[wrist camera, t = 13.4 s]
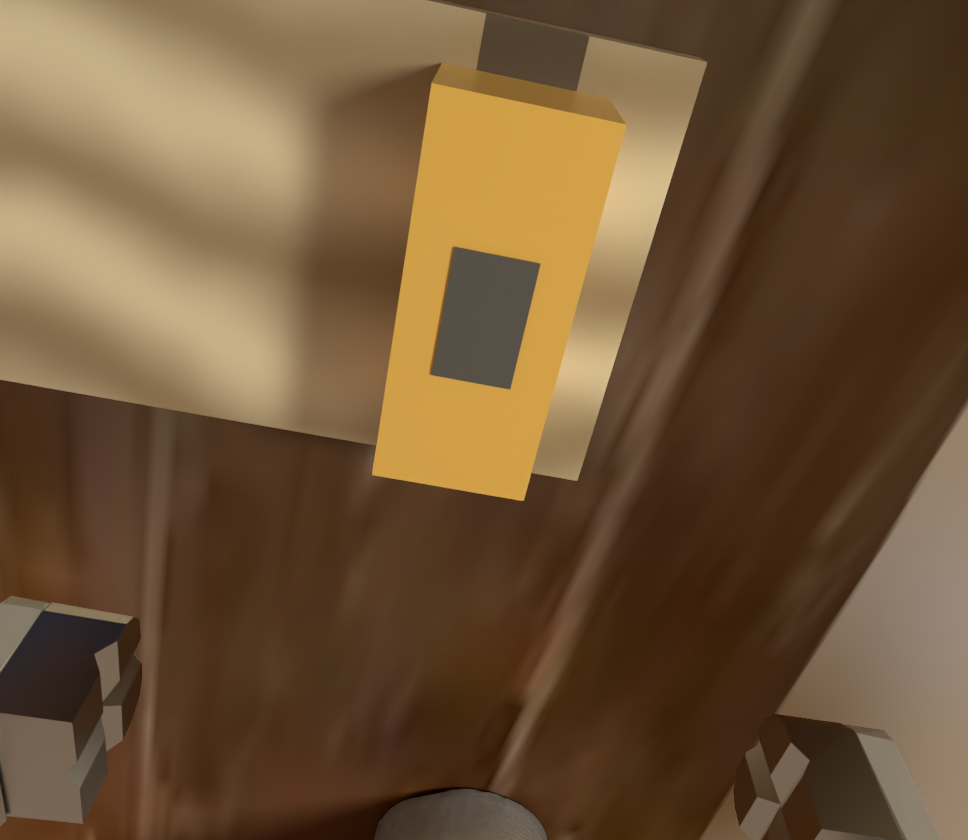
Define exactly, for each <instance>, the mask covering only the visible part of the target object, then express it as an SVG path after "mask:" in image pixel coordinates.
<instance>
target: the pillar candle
mask: <svg viewBox="0 0 968 840" xmlns="http://www.w3.org/2000/svg"><path fill="white" fill-rule="evenodd" d="M374 840H547V836H546V833H545V830H544V828H543V826H542V825H541V823H540V822H539V820H538V819H537V818H536V817H535V816H534V815H533V814H532V813H531V812H530V811H528V810H527V809H525V808H524V807H523V806H522V805H520V804H518V803H516V802H514V801H512V800H510V799H508V798H504V797H501V796H500V795H498V794H493V793H491V792H482V791H479V790H475V789H453V790H449V791H445V792H441V793H436V794H430V795H425V796H420V797H415V798H411V799H407V800H404V801H402V802H400V803H398V804H396V805H395V806H393V807H392V808H390V809H389V810H388V811H387V812H386V813H385V815H384V817H383V818H382V819H381V820H380V821H379V823H378V825H377V828H376V832H375V837H374Z"/></svg>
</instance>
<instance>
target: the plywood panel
mask: <svg viewBox="0 0 968 840" xmlns="http://www.w3.org/2000/svg"><path fill="white" fill-rule="evenodd" d="M442 63H446V64H450V65H455V66H460V67H464V68H469V69H474V70H478V71H483V72H488V73H492V74H497V75H502V76H506V77H511V78H516V79H520V80H525V81H530V82H534V83H539V84H544V85H548V86H553V87H558V88H562V89H567V90H572V91H576V92H581V93H586V94H590V95H595V96H599V97H604V98H609V99H610V101H611V102H612V104H613V105H614V107H615V108H616V110H617V111H618V113H619V114H620V116H621V117H622V119H623V120H624V121H625V123H626V128H625V132H624V135H623V139H622V143H621V146H620V150H619V154H618V157H617V161H616V165H615V168H614V172H613V176H612V179H611V183H610V187H609V190H608V194H607V198H606V201H605V205H604V209H603V212H602V216H601V220H600V223H599V227H598V231H597V234H596V238H595V242H594V245H593V249H592V253H591V256H590V260H589V264H588V267H587V271H586V275H585V278H584V282H583V286H582V289H581V293H580V297H579V300H578V304H577V307H576V311H575V315H574V318H573V322H572V326H571V329H570V333H569V337H568V340H567V344H566V348H565V351H564V355H563V359H562V362H561V366H560V370H559V373H558V377H557V381H556V384H555V388H554V392H553V395H552V399H551V403H550V406H549V410H548V414H547V417H546V421H545V425H544V428H543V432H542V436H541V439H540V443H539V447H538V450H537V454H536V458H535V461H534V465H533V469H532V472H531V473H535V474H541V475H547V476H552V477H558V478H564V479H569V480H575V481H577V480H578V477H579V474H580V471H581V467H582V464H583V461H584V458H585V454H586V451H587V448H588V445H589V442H590V438H591V435H592V432H593V429H594V425H595V422H596V419H597V416H598V413H599V409H600V406H601V403H602V400H603V397H604V393H605V390H606V387H607V384H608V380H609V377H610V374H611V371H612V368H613V364H614V361H615V358H616V355H617V351H618V348H619V345H620V342H621V339H622V335H623V332H624V329H625V326H626V322H627V319H628V316H629V313H630V310H631V306H632V303H633V300H634V297H635V293H636V290H637V287H638V284H639V281H640V277H641V274H642V271H643V268H644V264H645V261H646V258H647V255H648V252H649V248H650V245H651V242H652V239H653V235H654V232H655V229H656V226H657V223H658V219H659V216H660V213H661V210H662V206H663V203H664V200H665V197H666V194H667V190H668V187H669V184H670V181H671V177H672V174H673V171H674V168H675V165H676V161H677V158H678V155H679V152H680V148H681V145H682V142H683V139H684V136H685V132H686V129H687V126H688V123H689V119H690V116H691V113H692V110H693V107H694V103H695V100H696V97H697V94H698V90H699V87H700V84H701V81H702V78H703V74H704V71H705V68H706V65H707V62H706V61H704V60H703V59H701V58H699V57H696V56H691V55H686V54H682V53H677V52H673V51H668V50H664V49H659V48H655V47H650V46H646V45H641V44H637V43H632V42H628V41H623V40H619V39H614V38H610V37H605V36H601V35H596V34H591V33H587V32H582V31H578V30H573V29H569V28H564V27H560V26H555V25H551V24H546V23H542V22H537V21H533V20H528V19H524V18H519V17H515V16H510V15H506V14H501V13H496V12H492V11H487V10H483V9H478V8H474V7H469V6H465V5H460V4H456V3H451V2H447V1H442V0H0V380H5V381H11V382H17V383H22V384H28V385H34V386H39V387H45V388H51V389H56V390H62V391H68V392H74V393H79V394H85V395H91V396H96V397H102V398H108V399H113V400H119V401H125V402H131V403H136V404H142V405H148V406H153V407H159V408H165V409H170V410H176V411H182V412H188V413H193V414H199V415H205V416H210V417H216V418H222V419H227V420H233V421H239V422H245V423H250V424H256V425H262V426H267V427H273V428H279V429H284V430H290V431H296V432H302V433H307V434H313V435H319V436H324V437H330V438H336V439H341V440H347V441H353V442H359V443H364V444H370V445H376V446H377V439H378V432H379V426H380V419H381V413H382V406H383V399H384V393H385V386H386V380H387V373H388V366H389V360H390V353H391V347H392V340H393V334H394V327H395V320H396V314H397V307H398V301H399V294H400V287H401V281H402V274H403V268H404V261H405V254H406V248H407V241H408V235H409V228H410V222H411V215H412V208H413V202H414V195H415V189H416V182H417V175H418V169H419V162H420V156H421V149H422V142H423V136H424V129H425V123H426V116H427V110H428V103H429V96H430V90H431V83H432V81H433V79H434V77H435V75H436V74H437V72H438V70H439V68H440V66H441V64H442Z"/></svg>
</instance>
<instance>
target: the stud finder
mask: <svg viewBox="0 0 968 840" xmlns="http://www.w3.org/2000/svg"><path fill="white" fill-rule="evenodd" d="M625 128H626V123H625V121H624V120H623V119H622V117H621V116H620V114H619V113H618V111H617V110H616V108H615V107H614V105H613V104H612V102H611V101H610V99H609V98H604V97H599V96H595V95H590V94H586V93H581V92H576V91H572V90H567V89H562V88H558V87H553V86H548V85H544V84H539V83H534V82H530V81H525V80H520V79H516V78H511V77H506V76H502V75H497V74H492V73H488V72H483V71H478V70H474V69H469V68H464V67H460V66H455V65H450V64H446V63H442V64H441V66H440V68H439V70H438V72H437V74H436V75H435V77H434V79H433V81H432V83H431V90H430V96H429V103H428V110H427V116H426V123H425V129H424V136H423V142H422V149H421V156H420V162H419V169H418V175H417V182H416V189H415V195H414V202H413V208H412V215H411V222H410V228H409V235H408V241H407V248H406V254H405V261H404V268H403V274H402V281H401V287H400V294H399V301H398V307H397V314H396V320H395V327H394V334H393V340H392V347H391V353H390V360H389V366H388V373H387V380H386V386H385V393H384V399H383V406H382V413H381V419H380V426H379V432H378V439H377V446H376V452H375V459H374V465H373V472H372V475H375V476H381V477H387V478H393V479H399V480H405V481H410V482H416V483H422V484H428V485H434V486H439V487H445V488H451V489H457V490H463V491H468V492H474V493H480V494H486V495H492V496H497V497H503V498H509V499H515V500H521V501H524V498H525V494H526V491H527V487H528V483H529V480H530V476H531V472H532V469H533V465H534V461H535V458H536V454H537V450H538V447H539V443H540V439H541V436H542V432H543V428H544V425H545V421H546V417H547V414H548V410H549V406H550V403H551V399H552V395H553V392H554V388H555V384H556V381H557V377H558V373H559V370H560V366H561V362H562V359H563V355H564V351H565V348H566V344H567V340H568V337H569V333H570V329H571V326H572V322H573V318H574V315H575V311H576V307H577V304H578V300H579V297H580V293H581V289H582V286H583V282H584V278H585V275H586V271H587V267H588V264H589V260H590V256H591V253H592V249H593V245H594V242H595V238H596V234H597V231H598V227H599V223H600V220H601V216H602V212H603V209H604V205H605V201H606V198H607V194H608V190H609V187H610V183H611V179H612V176H613V172H614V168H615V165H616V161H617V157H618V154H619V150H620V146H621V143H622V139H623V135H624V132H625Z"/></svg>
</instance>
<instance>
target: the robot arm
mask: <svg viewBox="0 0 968 840" xmlns="http://www.w3.org/2000/svg"><path fill="white" fill-rule="evenodd" d="M140 639H141V634H140V622H139V619H137V618H135V617H131V616H125V615H119V614H114V613H108V612H103V611H97V610H92V609H86V608H80V607H75V606H69V605H64V604H58V603H50V602H44V601H38V600H32V599H26V598H21V597H15V596H10V597H9V598H7V599H6V600H5V601H3V602H2V603H0V826H1V825H2V824H3V823H4V822H6V820H7V817H6V816H14V817H24V818H33V819H43V820H52V821H62V822H72V823H81V824H83V822H84V820H85V818H86V816H87V814H88V812H89V810H90V808H91V806H92V804H93V802H94V800H95V797H96V795H97V793H98V791H99V789H100V787H101V785H102V783H103V781H104V779H105V777H106V774H107V756H106V751H107V750H109V749H110V748H112V747H113V746H115V745H116V744H117V743H119V742H120V741H122V740H123V738H124V736H125V734H126V732H127V730H128V727H129V725H130V723H131V721H132V718H133V715H134V712H135V708H136V705H137V702H138V698H139V695H140V688H141V681H142V663H141V662H140V661H139V660H138V659H137V658H136V656H135V655H134V654H133V653H134V651H135V649H136V647H137V645H138V643H139V641H140ZM757 733H758V736H759V740H760V743H761V745H759V746H757V747H755V748H753V749H751V750H749V751H748V752H746V753H744V755H743V757H742V759H741V761H740V763H739V765H738V767H737V769H736V776H735V783H734V802H735V810H736V814H737V818H738V822H739V826H740V828H742V830H743V831H744V832H745V833H746V835H747V836H748V837H749V838H750V839H751V840H942V839H941V837H940V835H939V833H938V831H937V829H936V827H935V825H934V823H933V821H932V819H931V817H930V815H929V812H928V810H927V808H926V806H925V804H924V802H923V800H922V798H921V796H920V794H919V792H918V790H917V788H916V786H915V784H914V782H913V780H912V778H911V776H910V774H909V772H908V769H907V767H906V765H905V763H904V761H903V759H902V757H901V755H900V753H899V751H898V749H897V747H896V745H895V743H894V741H893V739H892V738H891V737H890V736H889V735H888V734H887V733H886V732H885V731H884V730H879V729H872V728H865V727H859V726H852V725H843V724H841V723H835V722H828V721H819V720H813V719H806V718H799V717H792V716H785V715H778V714H772V715H770V716H769V717H767V718H765V719H764V721H763V722H762V724H761V726H760V727H759V729H758V731H757Z"/></svg>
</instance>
